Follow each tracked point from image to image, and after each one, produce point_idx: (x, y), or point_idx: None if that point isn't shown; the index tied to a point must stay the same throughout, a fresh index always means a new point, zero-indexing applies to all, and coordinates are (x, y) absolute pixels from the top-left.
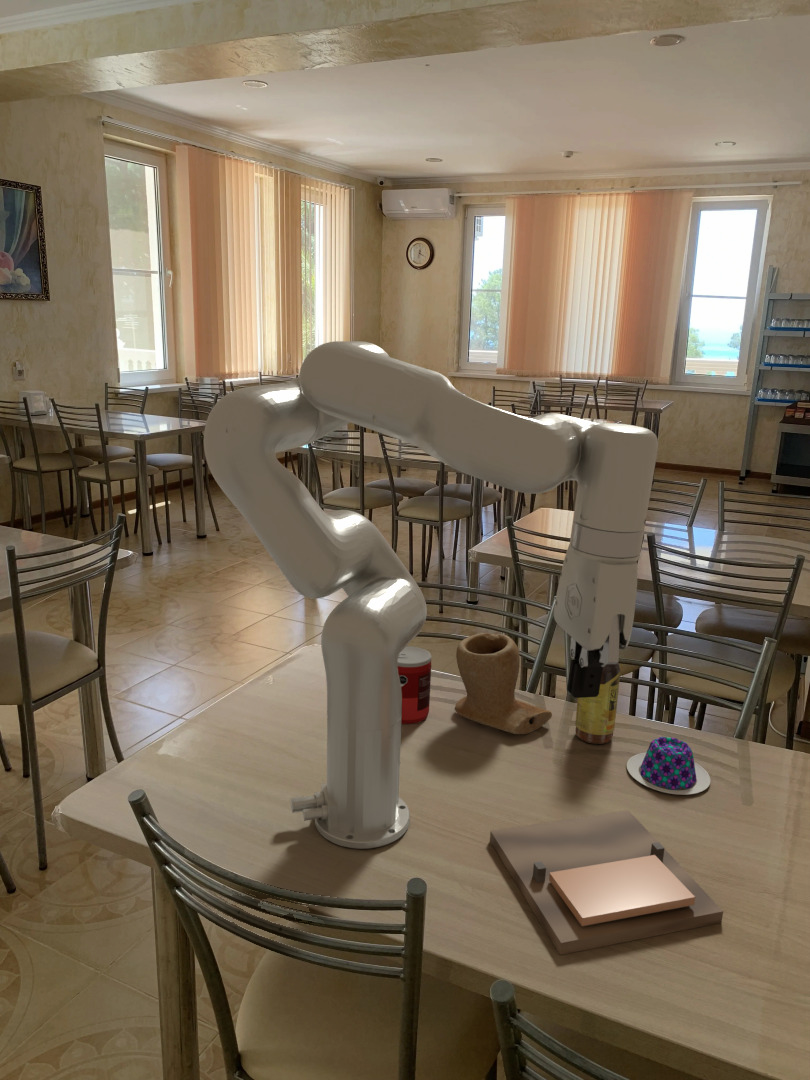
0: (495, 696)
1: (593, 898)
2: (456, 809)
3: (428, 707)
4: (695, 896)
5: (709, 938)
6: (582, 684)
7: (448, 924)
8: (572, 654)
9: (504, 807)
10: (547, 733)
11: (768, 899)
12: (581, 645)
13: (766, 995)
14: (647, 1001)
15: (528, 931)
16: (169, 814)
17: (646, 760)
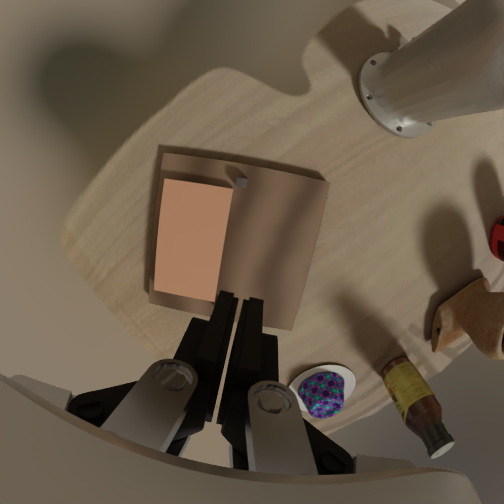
0: (472, 310)
1: (182, 205)
2: (383, 183)
3: (496, 254)
4: (168, 297)
5: (142, 277)
6: (198, 329)
7: (238, 84)
8: (284, 396)
9: (365, 230)
10: (423, 337)
11: (163, 344)
12: (18, 389)
13: (95, 270)
14: (110, 190)
15: (200, 142)
16: (434, 3)
17: (335, 384)
